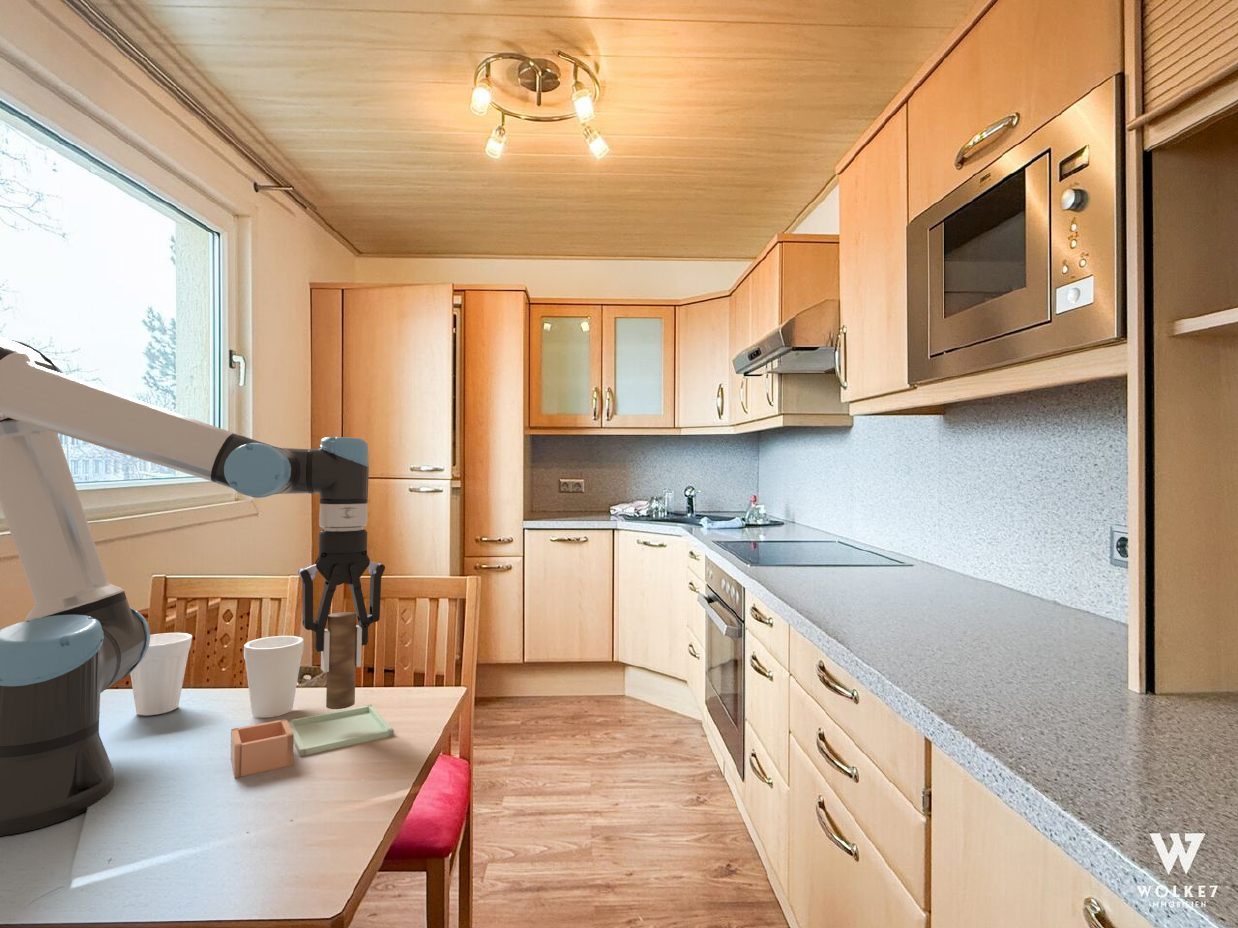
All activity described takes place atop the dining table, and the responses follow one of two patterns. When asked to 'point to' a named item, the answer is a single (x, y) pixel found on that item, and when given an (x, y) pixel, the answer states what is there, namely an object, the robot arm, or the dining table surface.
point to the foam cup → (272, 674)
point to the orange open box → (261, 748)
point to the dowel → (341, 660)
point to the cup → (161, 673)
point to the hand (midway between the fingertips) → (341, 667)
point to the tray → (338, 729)
